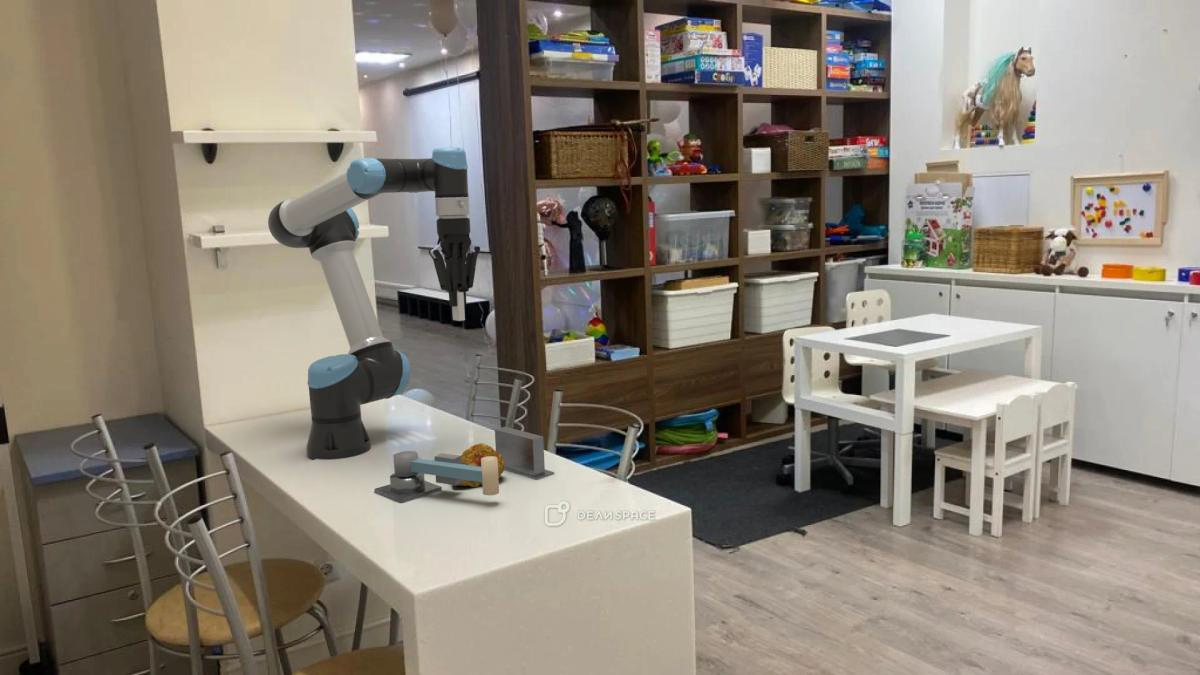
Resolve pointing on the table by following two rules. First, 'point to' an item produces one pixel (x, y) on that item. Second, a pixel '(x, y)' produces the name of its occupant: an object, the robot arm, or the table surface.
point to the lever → (449, 469)
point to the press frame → (512, 444)
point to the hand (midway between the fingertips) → (458, 319)
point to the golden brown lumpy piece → (479, 460)
